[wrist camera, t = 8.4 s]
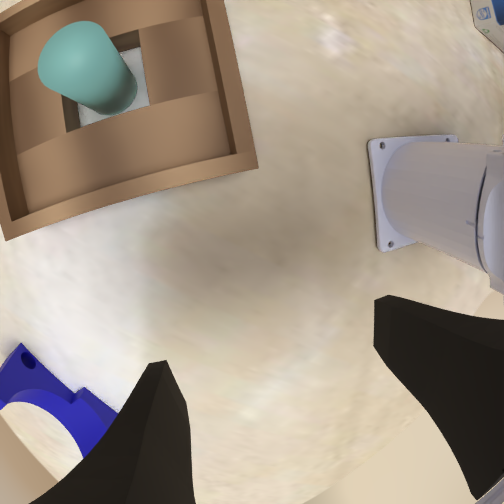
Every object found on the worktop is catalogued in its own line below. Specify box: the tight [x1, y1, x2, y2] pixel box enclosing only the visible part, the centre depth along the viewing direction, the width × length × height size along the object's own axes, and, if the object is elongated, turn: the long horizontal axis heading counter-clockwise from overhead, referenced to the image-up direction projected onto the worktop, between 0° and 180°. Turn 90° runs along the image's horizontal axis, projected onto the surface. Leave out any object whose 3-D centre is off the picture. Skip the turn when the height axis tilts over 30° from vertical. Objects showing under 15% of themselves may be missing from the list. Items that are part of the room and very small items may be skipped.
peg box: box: [0, 0, 258, 241], centre depth 12 cm, size 13×13×4 cm
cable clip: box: [0, 343, 118, 459], centre depth 17 cm, size 12×4×6 cm, turn 35°
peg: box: [38, 21, 137, 115], centre depth 11 cm, size 3×3×7 cm
